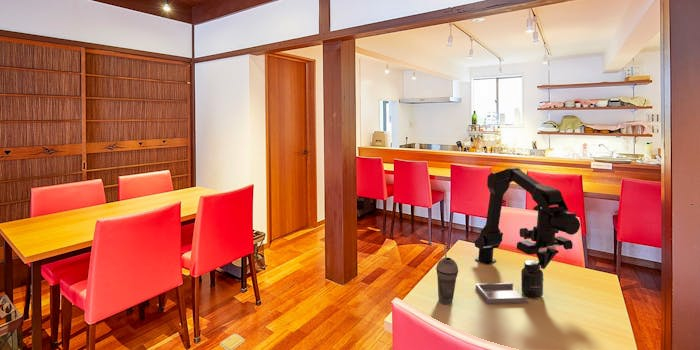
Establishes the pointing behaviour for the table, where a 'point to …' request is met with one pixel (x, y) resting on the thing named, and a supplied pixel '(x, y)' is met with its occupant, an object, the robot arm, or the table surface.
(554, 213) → the robot arm
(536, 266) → the supplement bottle
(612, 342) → the table surface
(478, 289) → the tray
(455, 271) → the beverage cup
